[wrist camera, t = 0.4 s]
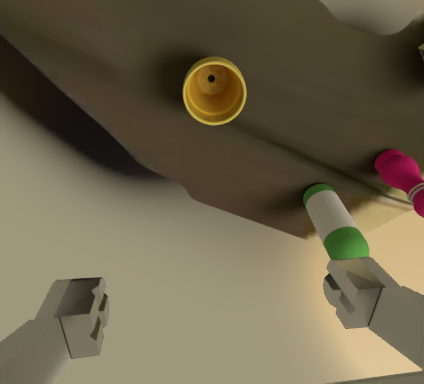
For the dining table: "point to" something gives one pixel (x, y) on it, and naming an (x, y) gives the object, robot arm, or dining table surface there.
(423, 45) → the protein box
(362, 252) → the wine bottle
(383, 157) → the pepper mill
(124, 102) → the dining table surface
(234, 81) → the plant pot
